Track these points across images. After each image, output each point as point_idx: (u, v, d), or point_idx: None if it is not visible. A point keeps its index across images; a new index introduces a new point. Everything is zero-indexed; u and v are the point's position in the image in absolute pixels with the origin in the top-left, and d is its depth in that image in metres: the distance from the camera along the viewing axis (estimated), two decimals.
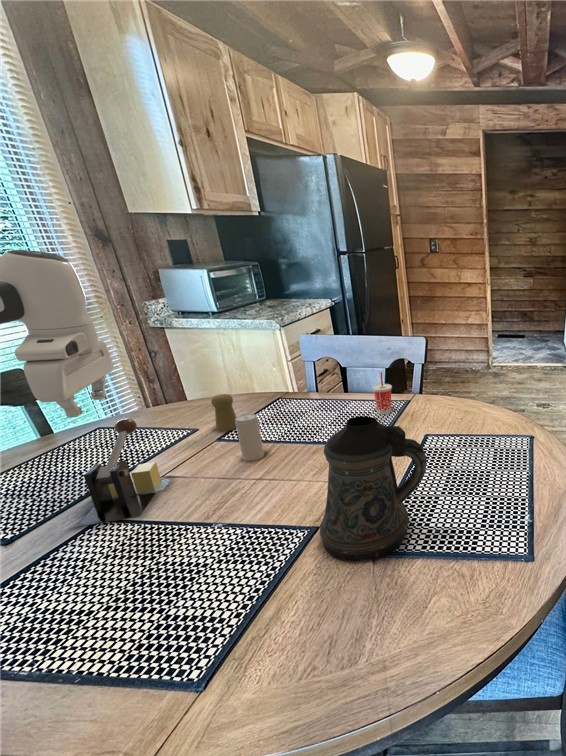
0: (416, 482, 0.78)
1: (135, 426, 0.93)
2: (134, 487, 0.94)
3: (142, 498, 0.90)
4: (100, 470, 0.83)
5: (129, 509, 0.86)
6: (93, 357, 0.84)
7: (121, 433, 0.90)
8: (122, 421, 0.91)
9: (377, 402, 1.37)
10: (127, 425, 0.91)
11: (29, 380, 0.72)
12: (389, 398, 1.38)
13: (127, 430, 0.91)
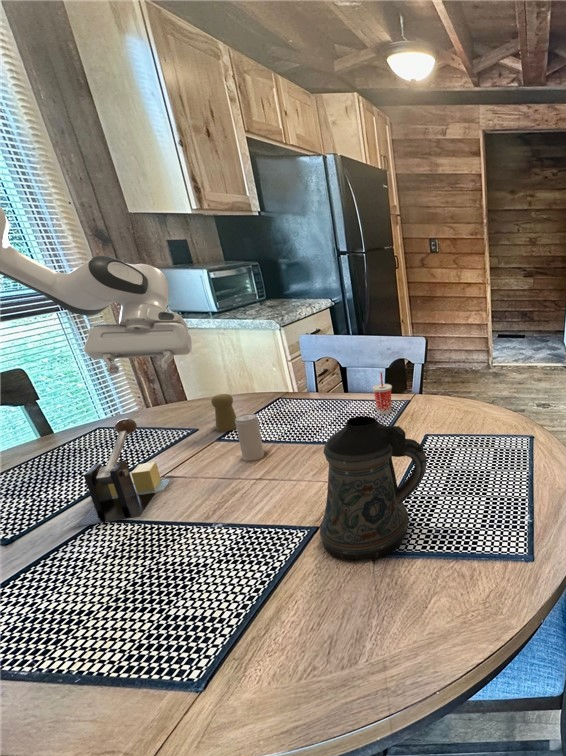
0: (416, 482, 0.78)
1: (135, 426, 0.93)
2: (134, 487, 0.94)
3: (142, 498, 0.90)
4: (100, 470, 0.83)
5: (129, 509, 0.86)
6: None
7: (121, 433, 0.90)
8: (122, 421, 0.91)
9: (377, 402, 1.37)
10: (127, 425, 0.91)
11: (185, 332, 1.05)
12: (389, 398, 1.38)
13: (127, 430, 0.91)
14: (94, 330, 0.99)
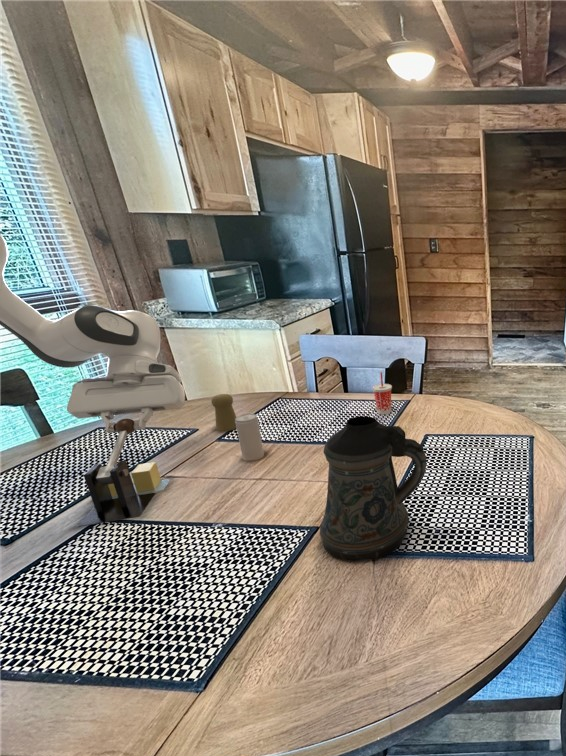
0: (416, 482, 0.78)
1: None
2: (134, 487, 0.94)
3: (142, 498, 0.90)
4: (100, 470, 0.83)
5: (129, 509, 0.86)
6: None
7: (121, 433, 0.90)
8: (122, 421, 0.91)
9: (377, 402, 1.37)
10: (127, 425, 0.91)
11: (178, 385, 0.97)
12: (389, 398, 1.38)
13: (127, 430, 0.91)
14: (78, 386, 0.92)
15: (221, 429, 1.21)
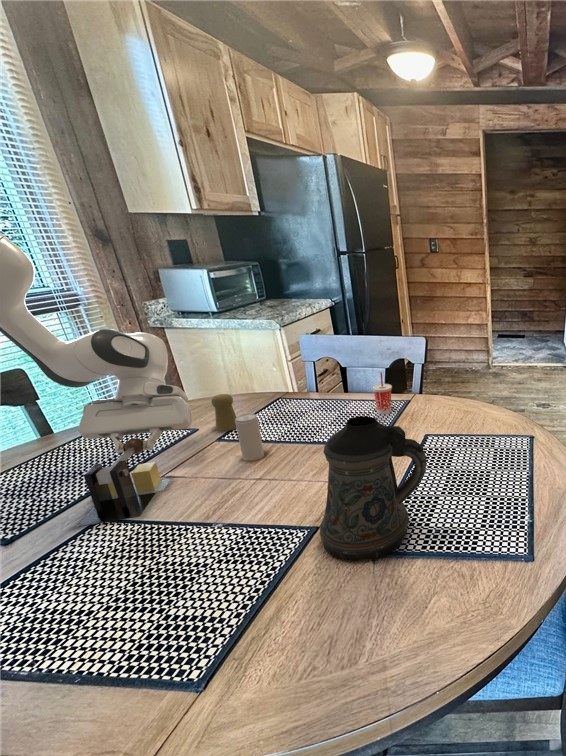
0: (416, 482, 0.78)
1: None
2: (134, 487, 0.94)
3: (142, 498, 0.90)
4: (101, 469, 0.84)
5: (129, 509, 0.86)
6: None
7: (129, 449, 0.93)
8: (132, 439, 0.95)
9: (377, 402, 1.37)
10: (136, 442, 0.94)
11: (185, 406, 1.00)
12: (389, 398, 1.38)
13: (135, 447, 0.94)
14: (89, 408, 0.95)
15: (221, 429, 1.21)
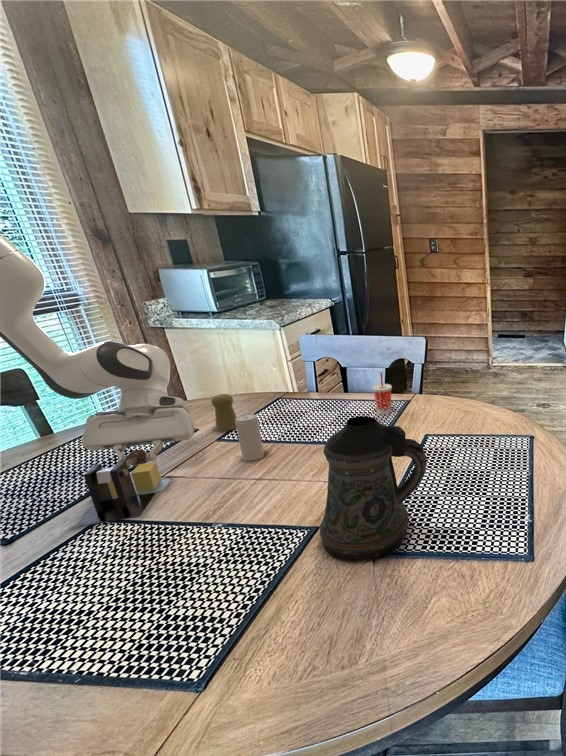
0: (416, 482, 0.78)
1: None
2: (134, 487, 0.94)
3: (142, 498, 0.90)
4: (102, 469, 0.84)
5: (129, 509, 0.86)
6: None
7: (131, 458, 0.94)
8: (136, 450, 0.96)
9: (377, 402, 1.37)
10: (139, 453, 0.95)
11: (187, 417, 1.01)
12: (389, 398, 1.38)
13: (138, 457, 0.95)
14: (92, 420, 0.95)
15: (221, 429, 1.21)
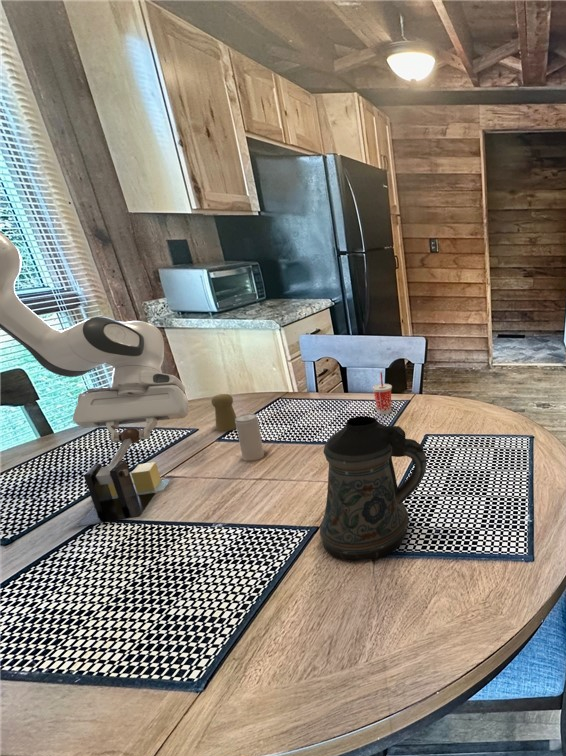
0: (416, 482, 0.78)
1: None
2: (134, 487, 0.94)
3: (142, 498, 0.90)
4: (101, 469, 0.83)
5: (129, 509, 0.86)
6: None
7: (126, 440, 0.92)
8: (128, 429, 0.93)
9: (377, 402, 1.37)
10: (132, 433, 0.93)
11: (182, 395, 0.99)
12: (389, 398, 1.38)
13: (132, 438, 0.93)
14: (84, 397, 0.93)
15: (221, 429, 1.21)
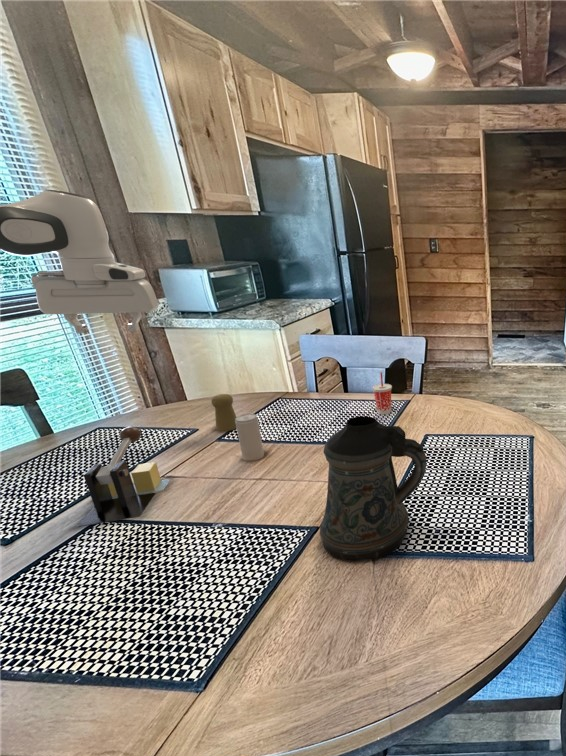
0: (416, 482, 0.78)
1: (139, 434, 0.94)
2: (134, 487, 0.94)
3: (142, 498, 0.90)
4: (101, 469, 0.83)
5: (129, 509, 0.86)
6: None
7: (125, 439, 0.92)
8: (127, 428, 0.93)
9: (377, 402, 1.37)
10: (132, 432, 0.93)
11: (147, 292, 0.96)
12: (389, 398, 1.38)
13: (131, 437, 0.93)
14: (40, 285, 0.89)
15: (221, 429, 1.21)
